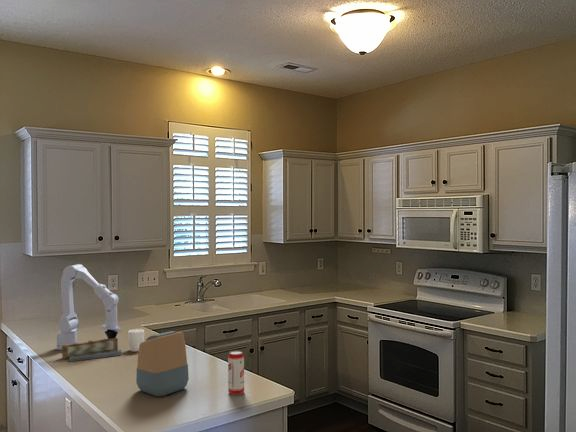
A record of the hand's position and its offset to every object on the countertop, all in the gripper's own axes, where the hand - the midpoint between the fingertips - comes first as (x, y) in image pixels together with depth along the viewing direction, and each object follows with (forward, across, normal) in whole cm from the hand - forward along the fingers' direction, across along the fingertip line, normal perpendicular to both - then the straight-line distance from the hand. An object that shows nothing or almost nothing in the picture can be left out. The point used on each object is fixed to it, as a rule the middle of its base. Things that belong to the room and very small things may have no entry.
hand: (111, 344), depth 270 cm
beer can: (+3, +95, -5) cm, 96 cm away
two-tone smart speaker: (+3, +69, -21) cm, 73 cm away
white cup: (+3, +10, +8) cm, 13 cm away
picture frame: (+3, -1, -11) cm, 12 cm away
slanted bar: (+3, +6, -13) cm, 14 cm away
